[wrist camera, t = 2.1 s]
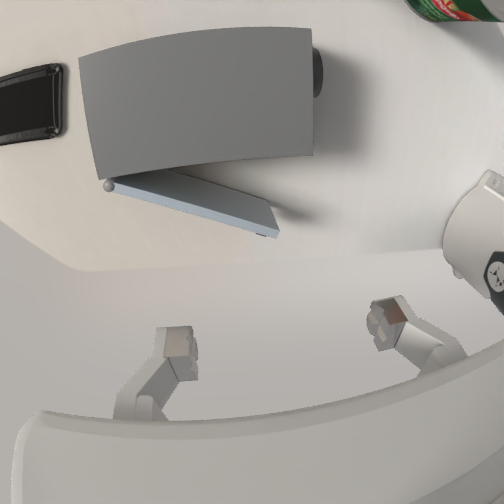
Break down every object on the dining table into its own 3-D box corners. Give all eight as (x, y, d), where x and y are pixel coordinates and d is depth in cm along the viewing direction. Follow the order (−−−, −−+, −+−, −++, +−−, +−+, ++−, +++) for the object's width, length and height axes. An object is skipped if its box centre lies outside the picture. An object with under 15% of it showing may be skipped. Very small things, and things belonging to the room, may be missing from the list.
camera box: (300, 39, 21) (327, 30, 15) (302, 135, 26) (327, 155, 21) (110, 60, 20) (78, 58, 14) (123, 154, 25) (98, 180, 19)
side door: (268, 200, 29) (280, 229, 24) (261, 216, 30) (271, 248, 25) (124, 157, 25) (104, 178, 20) (120, 175, 26) (100, 200, 21)
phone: (59, 137, 22) (-33, 152, 20) (64, 135, 23) (-28, 149, 21) (60, 60, 18) (-37, 89, 15) (65, 60, 19) (-31, 88, 16)
